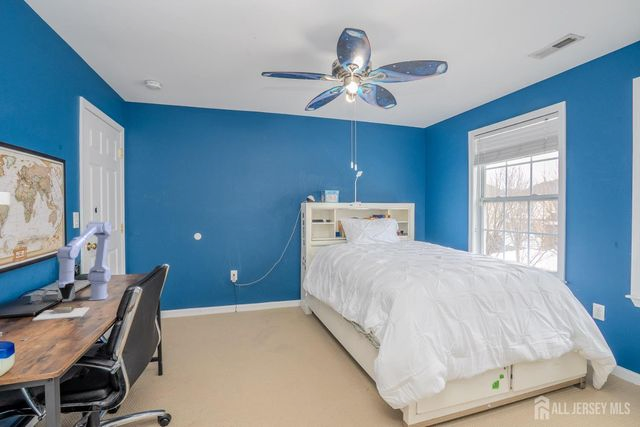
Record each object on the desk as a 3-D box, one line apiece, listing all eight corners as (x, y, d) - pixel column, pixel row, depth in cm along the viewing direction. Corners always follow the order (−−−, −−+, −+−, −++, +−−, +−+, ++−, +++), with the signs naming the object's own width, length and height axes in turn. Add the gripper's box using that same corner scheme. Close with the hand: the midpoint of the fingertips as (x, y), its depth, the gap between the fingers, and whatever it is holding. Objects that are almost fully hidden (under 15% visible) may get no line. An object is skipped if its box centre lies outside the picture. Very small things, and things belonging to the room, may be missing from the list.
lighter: (30, 304, 159) (31, 289, 159) (31, 303, 160) (32, 288, 160) (48, 303, 162) (48, 288, 162) (49, 302, 164) (49, 287, 164)
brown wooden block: (61, 303, 153) (55, 308, 146) (75, 302, 156) (70, 307, 148) (60, 308, 153) (54, 313, 146) (75, 307, 156) (70, 312, 148)
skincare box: (74, 298, 173) (75, 285, 173) (70, 301, 167) (71, 287, 167) (61, 299, 171) (62, 285, 171) (56, 302, 165) (57, 288, 165)
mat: (44, 311, 150) (44, 310, 150) (89, 308, 157) (89, 307, 157) (32, 321, 137) (32, 319, 137) (81, 316, 145) (81, 315, 145)
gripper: (61, 269, 155) (60, 295, 155) (50, 274, 142) (49, 303, 142) (79, 268, 158) (78, 294, 158) (69, 273, 145) (68, 302, 145)
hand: (65, 298), depth 150 cm, fingers closed
